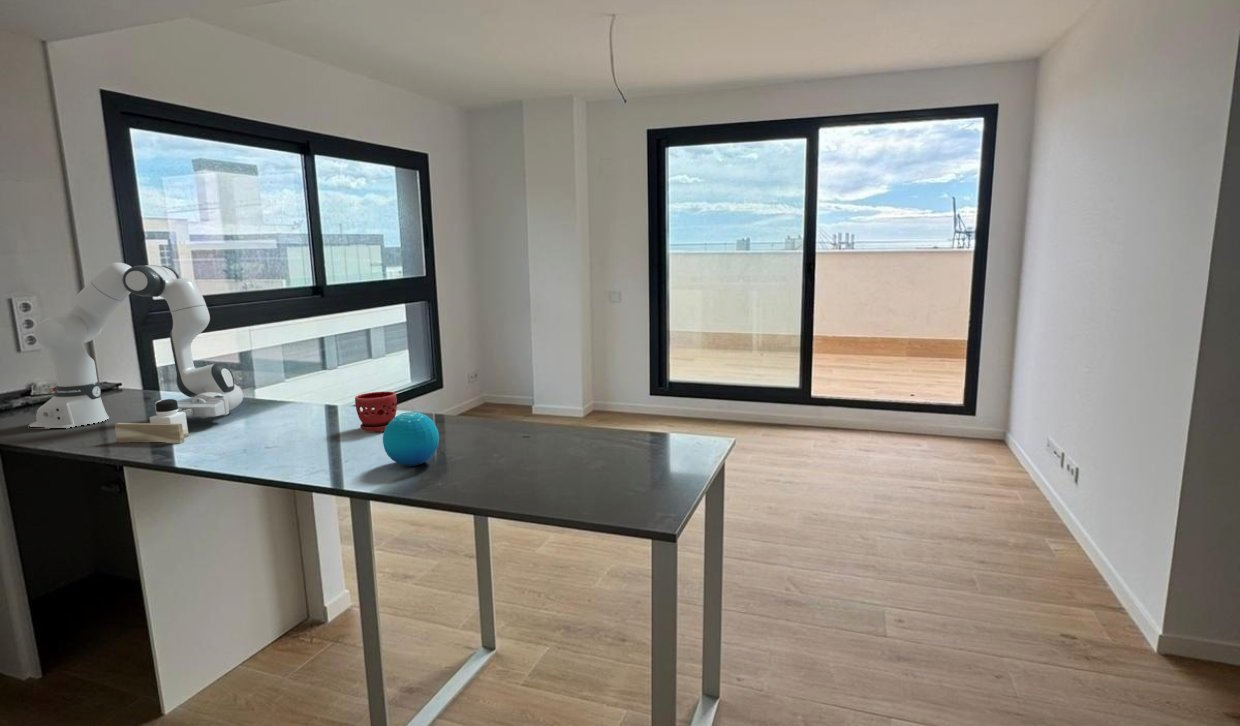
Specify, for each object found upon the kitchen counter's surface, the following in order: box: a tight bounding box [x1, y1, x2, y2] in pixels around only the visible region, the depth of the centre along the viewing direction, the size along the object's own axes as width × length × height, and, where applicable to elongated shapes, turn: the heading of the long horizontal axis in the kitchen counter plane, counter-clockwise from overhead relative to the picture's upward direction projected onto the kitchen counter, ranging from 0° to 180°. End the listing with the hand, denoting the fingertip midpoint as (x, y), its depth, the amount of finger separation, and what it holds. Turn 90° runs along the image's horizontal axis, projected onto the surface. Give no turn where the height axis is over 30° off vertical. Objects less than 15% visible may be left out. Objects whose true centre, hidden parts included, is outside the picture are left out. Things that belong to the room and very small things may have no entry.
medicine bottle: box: [149, 398, 189, 430], centre depth 211 cm, size 7×7×12 cm
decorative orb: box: [382, 411, 440, 467], centre depth 178 cm, size 15×15×15 cm
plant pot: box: [354, 391, 398, 433], centre depth 216 cm, size 13×13×12 cm
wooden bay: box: [113, 422, 190, 444], centre depth 208 cm, size 8×22×6 cm, turn 84°
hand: (175, 415), depth 215 cm, fingers closed, pressing on medicine bottle
